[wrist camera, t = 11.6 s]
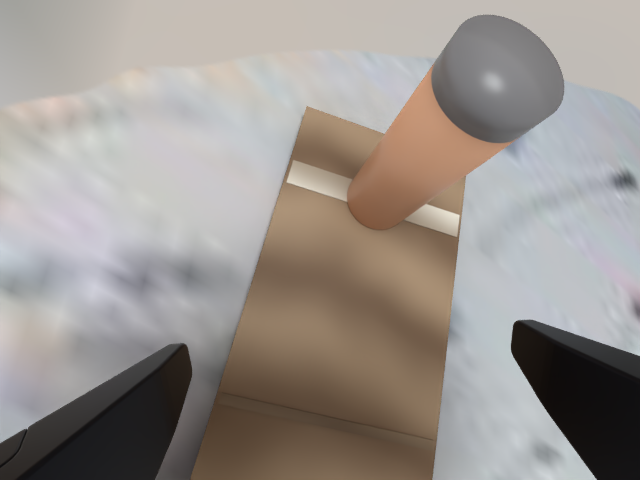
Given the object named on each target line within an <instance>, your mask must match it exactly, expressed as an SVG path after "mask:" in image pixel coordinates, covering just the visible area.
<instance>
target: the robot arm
mask: <svg viewBox="0 0 640 480" xmlns="http://www.w3.org/2000/svg"><path fill="white" fill-rule="evenodd" d="M511 352H512V355H513V357H514V359H515V360H516V362H517V364H518V365H519V367H520V369H521V370H522V372H523V374H524V375H525V377H526V379H527V380H528V382H529V384H530V385H531V387H532V389H533V390H534V392H535V394H536V395H537V397H538V399H539V400H540V402H541V403H542V405H543V406H544V408H545V409H546V411H547V412H548V414H549V415H550V416H551V418H552V419H553V421H554V422H555V423H556V425H557V426H558V427H559V429H560V430H561V431H562V433H563V434H564V436H565V437H566V438H567V440H568V441H569V442H570V444H571V445H572V446H573V448H574V449H575V451H576V452H577V453H578V455H579V456H580V457H581V459H582V460H583V461H584V463H585V464H586V466H587V467H588V468H589V470H590V471H591V472H592V474H593V475H594V476H595V478H596V479H597V480H640V356H638V355H635V354H632V353H629V352H626V351H623V350H620V349H617V348H614V347H611V346H608V345H605V344H602V343H599V342H596V341H593V340H590V339H587V338H585V337H582V336H579V335H576V334H573V333H570V332H567V331H564V330H561V329H558V328H555V327H552V326H549V325H546V324H543V323H540V322H537V321H534V320H518V321H516V322H515V323H514V325H513V332H512V341H511ZM191 378H192V366H191V361H190V356H189V352H188V348H187V346H186V345H185V344H184V343H180V344H170V345H168V346H166V347H164V348H163V349H161V350H159V351H158V352H156V353H154V354H152V355H151V356H149V357H147V358H146V359H144V360H142V361H140V362H139V363H137V364H135V365H134V366H132V367H130V368H128V369H127V370H125V371H123V372H122V373H120V374H118V375H117V376H115V377H113V378H111V379H110V380H108V381H106V382H105V383H103V384H101V385H99V386H98V387H96V388H94V389H93V390H91V391H89V392H87V393H86V394H84V395H82V396H81V397H79V398H77V399H75V400H74V401H72V402H70V403H69V404H67V405H65V406H63V407H62V408H60V409H58V410H57V411H55V412H53V413H51V414H50V415H48V416H46V417H45V418H43V419H41V420H39V421H38V422H36V423H34V424H33V425H31V426H29V428H28V430H27V429H24V430H22V431H20V432H19V433H17V434H15V435H14V436H12V437H10V438H9V439H7V440H5V441H3V442H2V443H0V480H155V478H156V476H157V473H158V471H159V469H160V466H161V464H162V462H163V459H164V457H165V454H166V452H167V450H168V447H169V445H170V443H171V440H172V438H173V435H174V433H175V430H176V427H177V424H178V420H179V417H180V414H181V411H182V407H183V404H184V401H185V398H186V394H187V391H188V388H189V385H190V381H191Z"/></svg>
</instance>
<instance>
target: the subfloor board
mask: <svg viewBox="0 0 640 480" xmlns="http://www.w3.org/2000/svg"><path fill="white" fill-rule="evenodd" d="M383 136H384V134H383V133H380V132H378V131H375V130H372V129H369V128H366V127H364V126H361V125H358V124H355V123H352V122H350V121H347V120H344V119H341V118H338V117H336V116H333V115H330V114H327V113H324V112H322V111H319V110H316V109H313V108H310V107H308V106H307V107H306V110H305V114H304V117H303V120H302V123H301V126H300V130H299V133H298V136H297V139H296V142H295V146H294V149H293V152H292V155H291V158H290V161H289V165H288V168H287V171H286V174H285V177H284V181H283V184H282V187H281V190H280V193H279V197H278V200H277V203H276V206H275V209H274V213H273V216H272V219H271V222H270V225H269V229H268V232H267V235H266V238H265V241H264V245H263V248H262V251H261V254H260V257H259V261H258V264H257V267H256V270H255V273H254V277H253V280H252V283H251V286H250V289H249V293H248V296H247V299H246V302H245V305H244V309H243V312H242V315H241V318H240V321H239V325H238V328H237V331H236V334H235V337H234V341H233V344H232V347H231V350H230V353H229V357H228V360H227V363H226V366H225V369H224V373H223V376H222V379H221V382H220V385H219V389H218V392H217V395H216V398H215V401H214V404H213V408H212V411H211V414H210V417H209V420H208V424H207V427H206V430H205V433H204V436H203V440H202V443H201V446H200V449H199V452H198V456H197V459H196V462H195V465H194V468H193V472H192V475H191V478H190V480H432V477H433V468H434V459H435V450H436V441H437V432H438V423H439V414H440V405H441V396H442V387H443V378H444V369H445V360H446V351H447V342H448V333H449V324H450V315H451V306H452V297H453V288H454V278H455V269H456V260H457V251H458V242H459V233H460V224H461V215H462V206H463V197H464V188H465V179H466V176H465V177H463V178H462V179H460V180H459V181H457V182H456V183H455V184H453V185H452V186H450V187H449V188H448V189H446V190H445V191H443V192H442V193H441V194H439V195H438V196H436V197H435V198H434V199H432V200H431V201H429V202H428V203H427V204H425V205H424V206H422V207H421V208H419V209H418V210H417V211H415V212H414V213H412V214H411V215H410V216H408V217H407V218H405V219H404V220H403V221H401V222H400V223H398V224H397V225H396V226H394V227H392V228H389V229H386V230H375V229H371V228H369V227H366V226H365V225H363V224H361V223H360V222H359V221H358V220H357V219H356V218H355V217H354V216H353V214H352V213H351V211H350V209H349V206H348V202H347V192H348V188H349V185H350V183H351V182H352V181H353V179H354V178H355V176H356V175H357V173H358V172H359V170H360V169H361V168H362V166H363V165H364V163H365V162H366V160H367V159H368V158H369V156H370V155H371V153H372V152H373V150H374V149H375V147H376V146H377V145H378V143H379V142H380V140H381V139H382V137H383Z"/></svg>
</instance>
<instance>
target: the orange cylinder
mask: <svg viewBox="0 0 640 480" xmlns="http://www.w3.org/2000/svg"><path fill="white" fill-rule="evenodd" d="M563 95H564V80H563V75H562V72H561V69H560V67H559V64H558V62H557V60H556V59H555V57H554V55H553V54H552V52H551V51H550V49H549V48H548V47H547V46H546V45H545V43H544V42H543V41H542V40H541V39H540V38H539V37H538V36H536V35H535V34H534V33H533V32H531V31H530V30H529V29H527V28H526V27H524V26H523V25H521V24H519V23H517V22H515V21H513V20H510V19H508V18H505V17H501V16H496V15H479V16H475V17H472V18H470V19H468V20H466V21H465V22H464V23H463V24H461V26H460V27H459V28H458V30H457V31H456V32H455V34H454V35H453V37H452V38H451V40H450V41H449V43H448V44H447V45H446V47H445V48H444V50H443V51H442V53H441V54H440V55H439V57H438V58H437V60H436V61H435V63H434V64H433V65H432V67H431V68H430V70H429V71H428V73H427V74H426V75H425V77H424V78H423V80H422V81H421V83H420V84H419V86H418V87H417V88H416V90H415V91H414V93H413V94H412V96H411V97H410V99H409V100H408V101H407V103H406V104H405V106H404V107H403V109H402V110H401V111H400V113H399V114H398V116H397V117H396V119H395V120H394V122H393V123H392V124H391V126H390V127H389V129H388V130H387V132H386V133H385V134H384V136H383V137H382V139H381V140H380V142H379V143H378V145H377V146H376V147H375V149H374V150H373V152H372V153H371V155H370V156H369V158H368V159H367V160H366V162H365V163H364V165H363V166H362V168H361V169H360V170H359V172H358V173H357V175H356V176H355V178H354V179H353V181H352V182H351V183H350V185H349V188H348V192H347V202H348V206H349V209H350V211H351V213H352V214H353V216H354V217H355V218H356V219H357V220H358V221H359V222H360V223H361V224H363V225H365V226H366V227H369V228H371V229H375V230H386V229H389V228H392V227H394V226H396V225H397V224H398V223H400V222H401V221H403V220H404V219H405V218H407V217H408V216H410V215H411V214H412V213H414V212H415V211H417V210H418V209H419V208H421V207H422V206H424V205H425V204H427V203H428V202H429V201H431V200H432V199H434V198H435V197H436V196H438V195H439V194H441V193H442V192H443V191H445V190H446V189H448V188H449V187H450V186H452V185H453V184H455V183H456V182H457V181H459V180H460V179H462V178H463V177H465V176H466V175H467V174H469V173H470V172H472V171H473V170H474V169H476V168H477V167H479V166H480V165H481V164H483V163H484V162H486V161H487V160H488V159H490V158H491V157H493V156H494V155H495V154H497V153H498V152H500V151H501V150H503V149H504V148H505V147H507V146H508V145H510V144H511V143H512V142H514V141H515V140H517V139H518V138H519V137H521V136H522V135H524V134H525V133H526V132H528V131H529V130H531V129H532V128H533V127H535V126H536V125H538V124H539V123H541V122H542V121H543V120H545V119H546V118H548V117H549V116H550V115H552V114H553V113H554V112H555V111H556V110H557V109H558V108H559V106H560V104H561V102H562V100H563Z"/></svg>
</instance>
